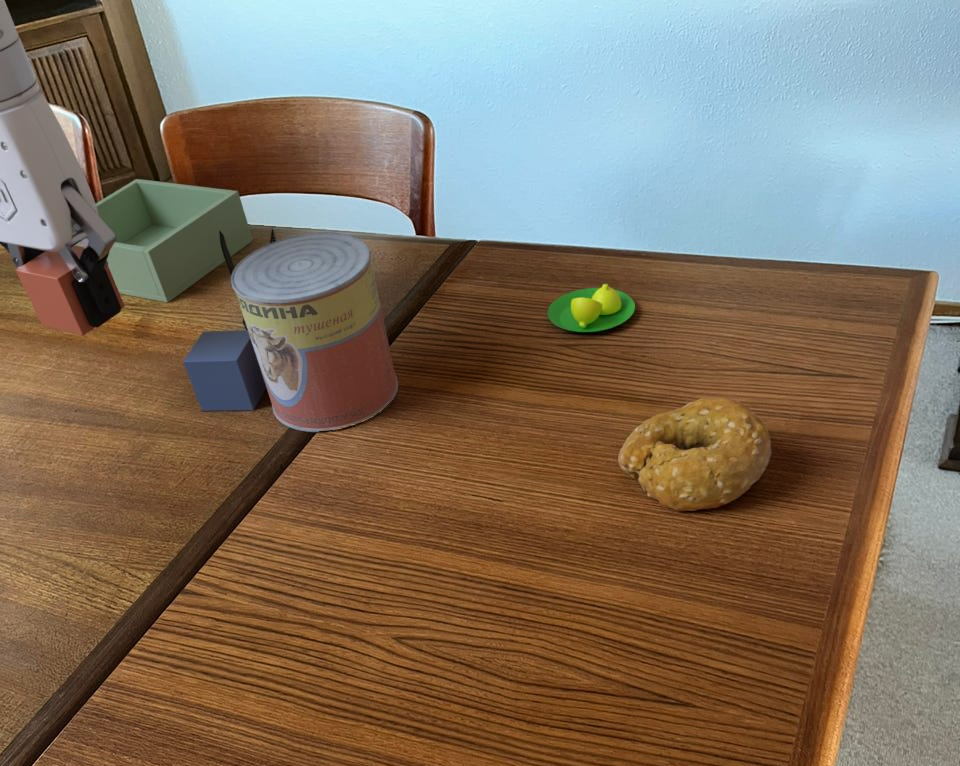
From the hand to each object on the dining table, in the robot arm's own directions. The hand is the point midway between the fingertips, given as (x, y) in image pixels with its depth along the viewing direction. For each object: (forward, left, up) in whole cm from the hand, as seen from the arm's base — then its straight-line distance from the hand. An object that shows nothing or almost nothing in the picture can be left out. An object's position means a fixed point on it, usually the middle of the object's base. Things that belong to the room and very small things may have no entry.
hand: (81, 311), depth 82 cm
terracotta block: (0, 0, 0) cm, 0 cm away
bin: (-18, +24, -9) cm, 31 cm away
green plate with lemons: (+34, +27, -10) cm, 45 cm away
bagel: (+51, +8, -10) cm, 53 cm away
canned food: (+18, +8, -10) cm, 22 cm away
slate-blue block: (+9, +5, -9) cm, 14 cm away
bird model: (+3, +17, -10) cm, 20 cm away
